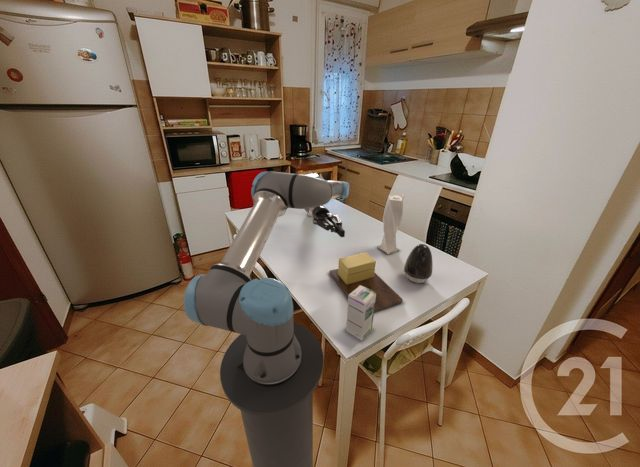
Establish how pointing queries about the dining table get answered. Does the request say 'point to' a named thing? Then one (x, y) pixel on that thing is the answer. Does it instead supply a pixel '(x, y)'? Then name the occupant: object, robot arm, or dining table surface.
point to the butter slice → (356, 263)
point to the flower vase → (319, 177)
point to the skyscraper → (391, 223)
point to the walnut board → (375, 284)
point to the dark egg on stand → (419, 264)
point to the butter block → (355, 275)
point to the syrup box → (360, 312)
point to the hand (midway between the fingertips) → (343, 234)
